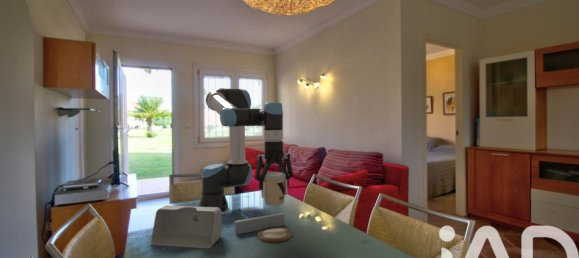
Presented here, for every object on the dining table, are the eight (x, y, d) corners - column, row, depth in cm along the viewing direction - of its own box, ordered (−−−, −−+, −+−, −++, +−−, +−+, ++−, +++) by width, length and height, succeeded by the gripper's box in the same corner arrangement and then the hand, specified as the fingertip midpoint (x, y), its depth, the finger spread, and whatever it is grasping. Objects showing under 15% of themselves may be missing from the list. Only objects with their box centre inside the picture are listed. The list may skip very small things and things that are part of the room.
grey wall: (234, 232, 116) (234, 220, 116) (282, 223, 125) (282, 212, 125) (236, 234, 114) (235, 222, 114) (284, 225, 123) (284, 214, 123)
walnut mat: (252, 232, 116) (252, 229, 116) (283, 226, 122) (283, 224, 122) (264, 245, 103) (264, 243, 103) (297, 238, 110) (297, 236, 109)
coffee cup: (283, 207, 107) (282, 176, 106) (260, 205, 109) (259, 175, 108) (288, 200, 116) (287, 171, 116) (266, 199, 118) (266, 171, 117)
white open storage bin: (228, 231, 117) (227, 202, 117) (211, 248, 101) (211, 215, 101) (173, 228, 121) (173, 200, 121) (150, 244, 105) (149, 212, 105)
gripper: (251, 142, 104) (251, 201, 104) (301, 140, 113) (302, 194, 113) (245, 141, 110) (246, 197, 111) (293, 139, 120) (294, 190, 120)
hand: (274, 195), depth 112 cm, fingers closed on coffee cup, 9 cm apart
